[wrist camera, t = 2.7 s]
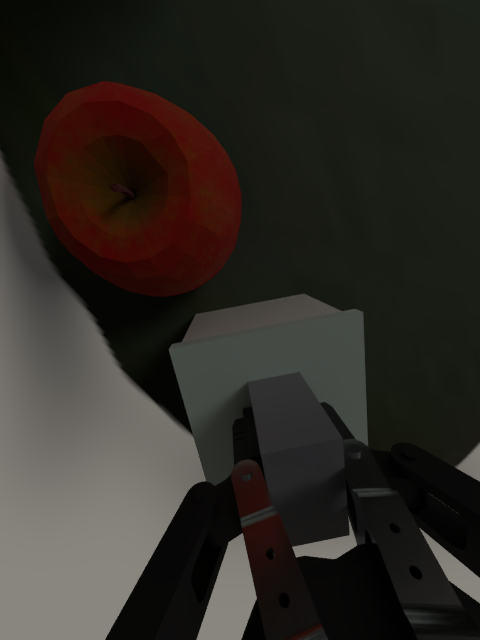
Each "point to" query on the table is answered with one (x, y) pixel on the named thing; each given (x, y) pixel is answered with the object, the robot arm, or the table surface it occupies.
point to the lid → (282, 411)
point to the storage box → (256, 316)
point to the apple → (137, 189)
